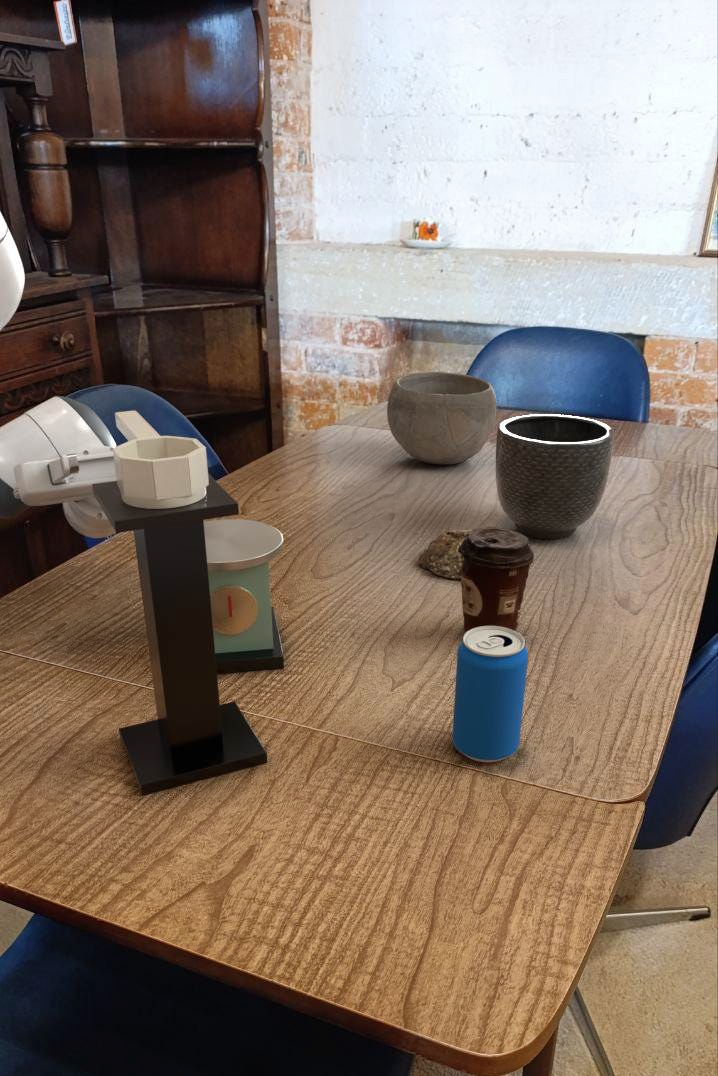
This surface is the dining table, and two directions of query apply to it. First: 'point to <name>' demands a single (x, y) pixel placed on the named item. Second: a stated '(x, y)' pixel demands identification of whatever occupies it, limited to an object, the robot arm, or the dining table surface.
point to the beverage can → (489, 693)
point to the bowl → (441, 415)
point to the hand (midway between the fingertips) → (116, 455)
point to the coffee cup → (494, 577)
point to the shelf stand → (180, 647)
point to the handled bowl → (158, 466)
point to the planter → (552, 472)
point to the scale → (243, 594)
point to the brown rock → (444, 554)
